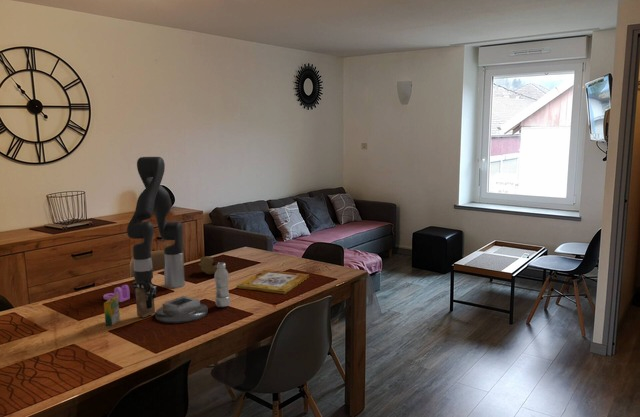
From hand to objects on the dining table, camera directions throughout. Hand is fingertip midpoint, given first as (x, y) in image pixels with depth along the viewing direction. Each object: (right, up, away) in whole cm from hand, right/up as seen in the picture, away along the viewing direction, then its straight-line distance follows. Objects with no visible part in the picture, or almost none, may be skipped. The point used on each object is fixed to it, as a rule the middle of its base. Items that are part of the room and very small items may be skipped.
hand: (145, 306), depth 211 cm
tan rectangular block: (0, -3, +1) cm, 3 cm away
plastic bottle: (+31, -2, +12) cm, 33 cm away
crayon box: (-11, -5, -6) cm, 14 cm away
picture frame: (+51, +3, +47) cm, 69 cm away
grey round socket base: (+15, -4, +3) cm, 15 cm away
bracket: (-23, -1, +24) cm, 33 cm away
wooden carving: (+13, +5, +65) cm, 66 cm away
